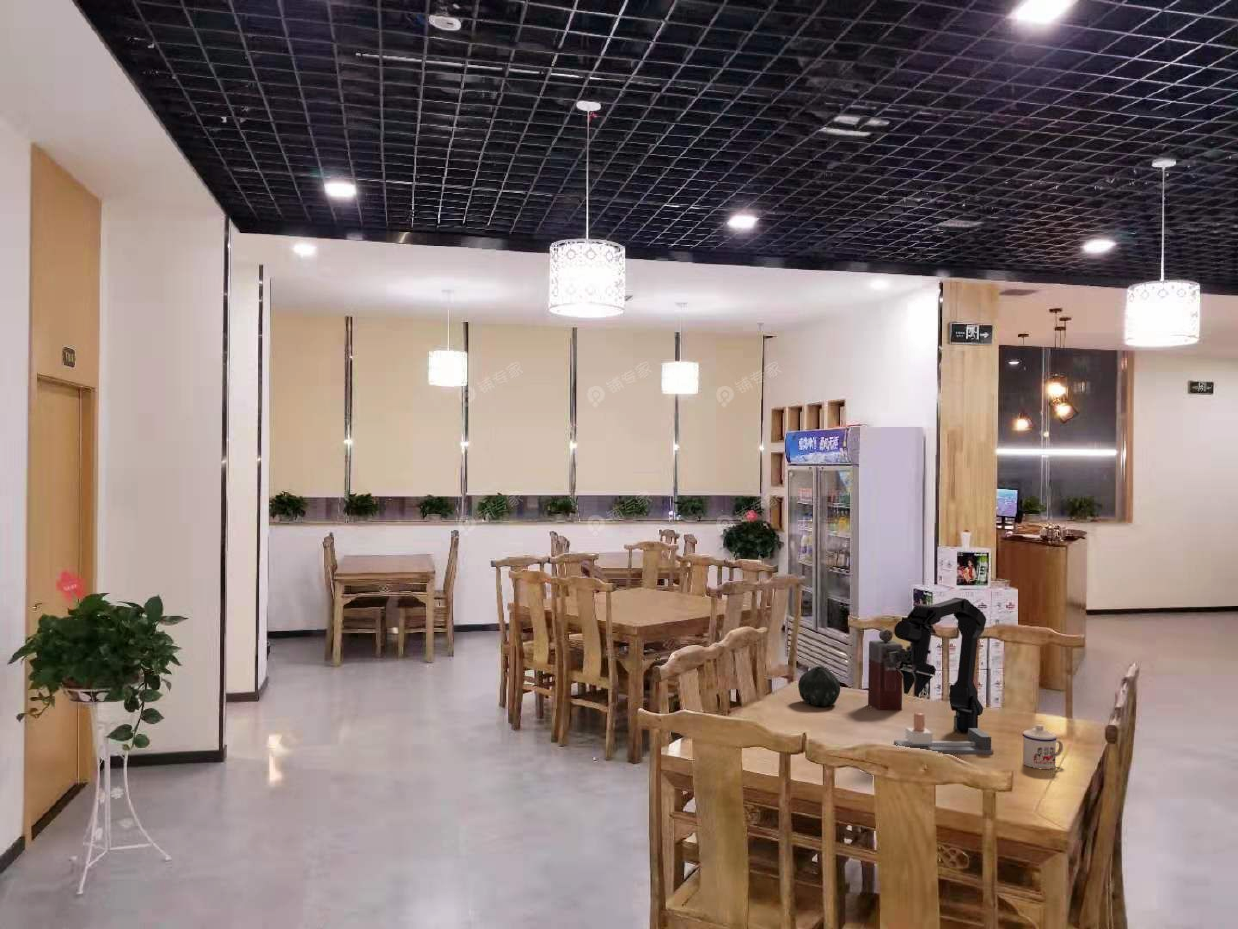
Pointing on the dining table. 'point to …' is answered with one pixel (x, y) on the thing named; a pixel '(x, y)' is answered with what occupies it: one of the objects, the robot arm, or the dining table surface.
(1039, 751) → the teacup with lid
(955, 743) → the track
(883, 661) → the square decanter bottle
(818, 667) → the squash
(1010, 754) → the dining table surface
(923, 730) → the keeper
